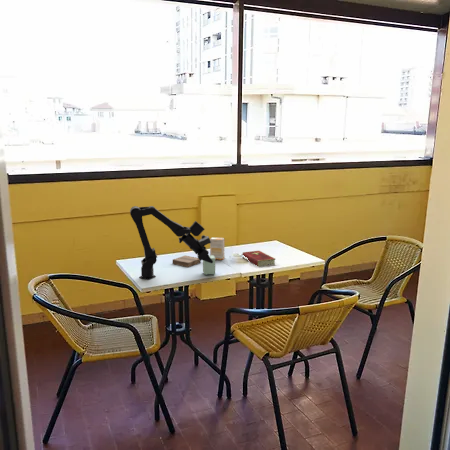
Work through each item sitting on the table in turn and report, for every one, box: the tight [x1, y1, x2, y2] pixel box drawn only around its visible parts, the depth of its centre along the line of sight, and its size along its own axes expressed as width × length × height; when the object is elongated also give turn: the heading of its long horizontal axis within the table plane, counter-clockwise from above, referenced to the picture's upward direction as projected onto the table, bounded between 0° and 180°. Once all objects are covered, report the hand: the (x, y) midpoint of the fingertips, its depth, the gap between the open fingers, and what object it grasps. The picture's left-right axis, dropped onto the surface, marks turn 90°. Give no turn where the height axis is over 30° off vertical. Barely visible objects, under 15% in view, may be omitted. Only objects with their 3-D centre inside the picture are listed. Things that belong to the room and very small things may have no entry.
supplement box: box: [209, 236, 226, 261], centre depth 285 cm, size 8×5×13 cm, turn 74°
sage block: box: [202, 255, 216, 275], centre depth 255 cm, size 6×6×9 cm
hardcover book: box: [241, 250, 276, 267], centre depth 282 cm, size 12×21×4 cm, turn 24°
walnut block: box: [172, 255, 202, 268], centre depth 276 cm, size 12×12×3 cm
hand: (211, 261), depth 255 cm, fingers closed on sage block, 6 cm apart
